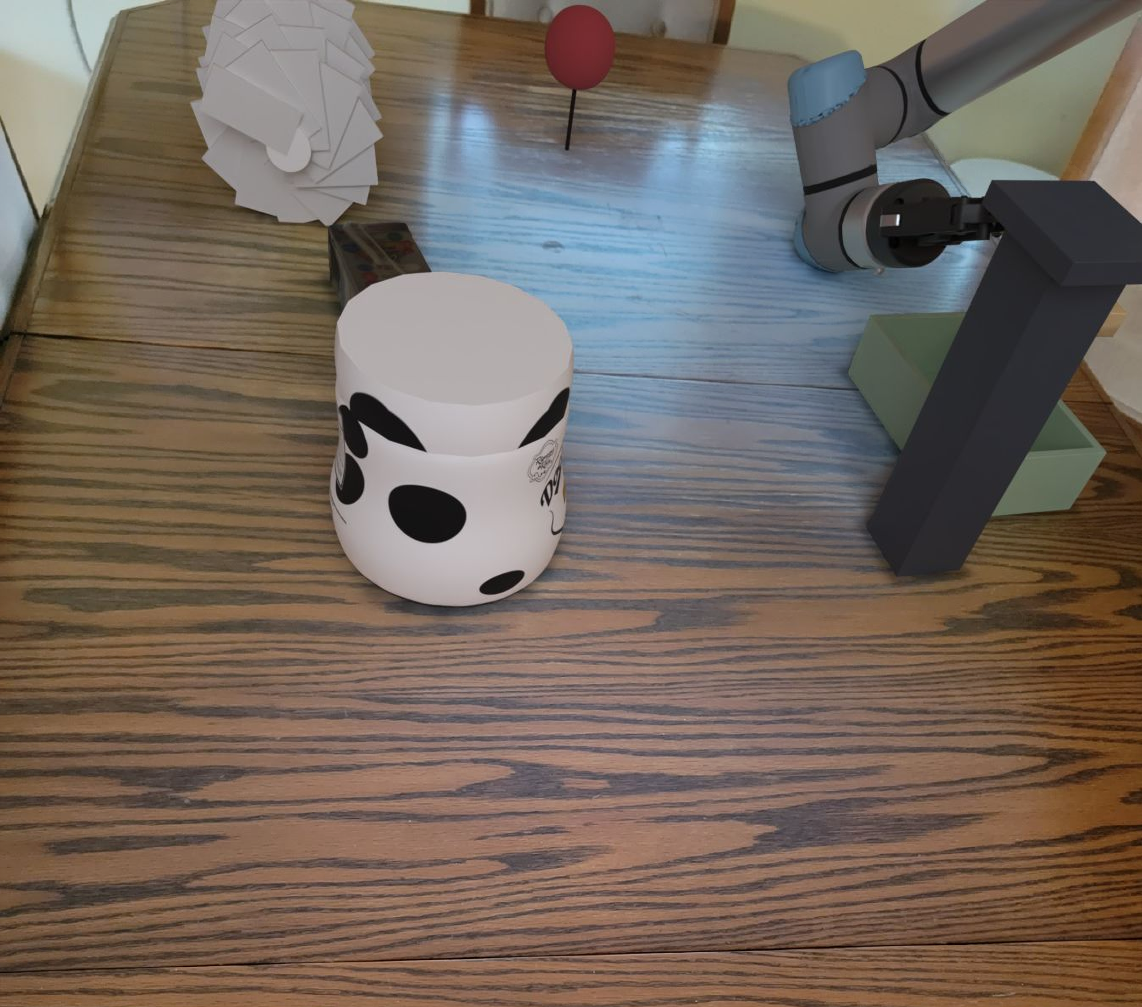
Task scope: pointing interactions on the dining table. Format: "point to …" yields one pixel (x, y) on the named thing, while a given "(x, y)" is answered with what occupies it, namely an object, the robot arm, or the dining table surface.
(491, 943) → the dining table surface
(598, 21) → the lollipop
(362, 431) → the milk container
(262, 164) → the spiral staircase
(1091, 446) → the bin
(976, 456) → the dark capped post
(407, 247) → the beverage carton
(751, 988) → the dining table surface
